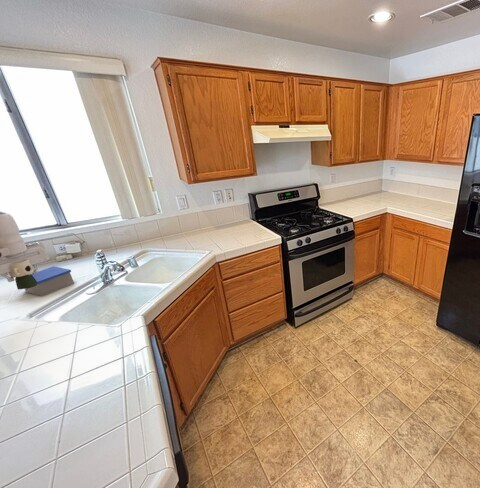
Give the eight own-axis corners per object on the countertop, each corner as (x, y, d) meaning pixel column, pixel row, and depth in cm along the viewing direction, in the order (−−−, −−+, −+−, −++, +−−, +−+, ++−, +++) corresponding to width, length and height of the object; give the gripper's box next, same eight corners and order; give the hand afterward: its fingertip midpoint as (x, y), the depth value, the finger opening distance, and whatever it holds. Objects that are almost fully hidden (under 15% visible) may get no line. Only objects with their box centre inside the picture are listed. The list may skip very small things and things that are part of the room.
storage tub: (41, 296, 133) (34, 282, 130) (24, 292, 137) (17, 278, 134) (76, 282, 146) (70, 269, 143) (59, 279, 151) (53, 266, 148)
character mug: (35, 290, 116) (24, 263, 112) (12, 294, 113) (-1, 267, 108) (42, 280, 125) (32, 255, 120) (21, 284, 121) (9, 258, 117)
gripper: (37, 240, 122) (48, 267, 127) (-29, 256, 104) (-14, 286, 109) (46, 241, 120) (56, 268, 125) (-21, 258, 102) (-5, 289, 107)
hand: (23, 277), depth 117 cm, fingers closed on character mug, 6 cm apart
